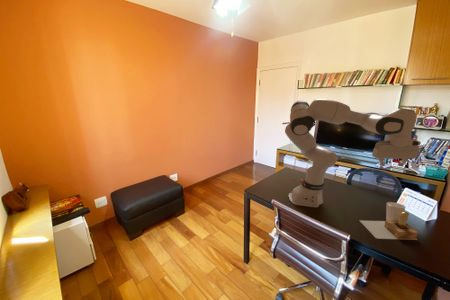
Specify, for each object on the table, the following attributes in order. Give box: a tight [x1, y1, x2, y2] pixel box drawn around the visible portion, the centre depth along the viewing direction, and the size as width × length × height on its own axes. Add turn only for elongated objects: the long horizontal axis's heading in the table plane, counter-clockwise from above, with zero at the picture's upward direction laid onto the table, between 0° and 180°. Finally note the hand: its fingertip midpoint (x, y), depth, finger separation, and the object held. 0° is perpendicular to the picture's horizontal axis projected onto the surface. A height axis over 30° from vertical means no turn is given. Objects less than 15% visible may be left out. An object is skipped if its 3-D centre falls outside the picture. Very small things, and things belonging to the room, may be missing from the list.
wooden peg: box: [397, 210, 410, 229], centre depth 98 cm, size 3×3×12 cm
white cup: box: [385, 201, 406, 221], centre depth 107 cm, size 8×8×10 cm
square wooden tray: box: [384, 220, 419, 240], centre depth 99 cm, size 9×9×4 cm
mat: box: [359, 219, 418, 241], centre depth 102 cm, size 20×14×1 cm
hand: (391, 165), depth 100 cm, fingers open, 8 cm apart
